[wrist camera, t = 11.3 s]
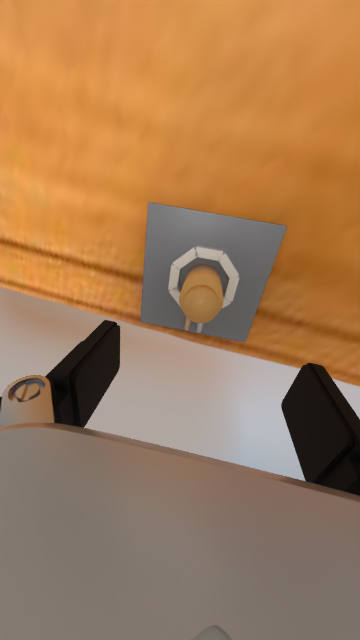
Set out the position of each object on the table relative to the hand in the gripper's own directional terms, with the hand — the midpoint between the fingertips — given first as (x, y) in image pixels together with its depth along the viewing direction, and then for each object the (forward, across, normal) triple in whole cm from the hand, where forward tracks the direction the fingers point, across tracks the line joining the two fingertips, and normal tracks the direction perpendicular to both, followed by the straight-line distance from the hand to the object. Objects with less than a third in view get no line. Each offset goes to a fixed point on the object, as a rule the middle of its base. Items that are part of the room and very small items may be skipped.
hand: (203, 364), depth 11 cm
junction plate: (+16, +1, 0) cm, 16 cm away
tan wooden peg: (+15, +1, 0) cm, 15 cm away
